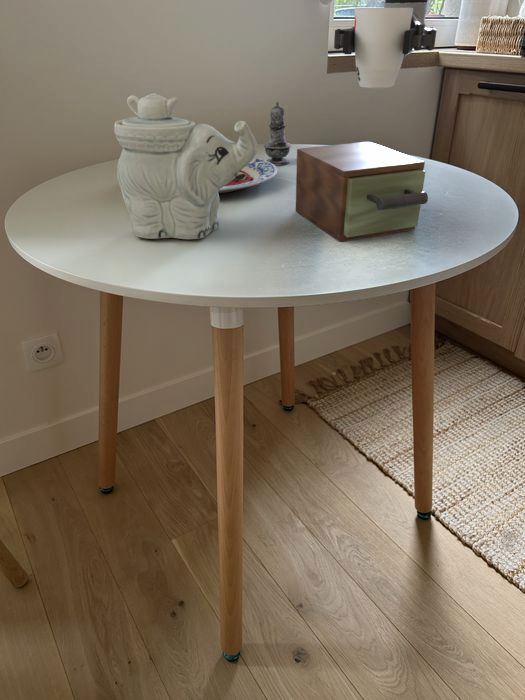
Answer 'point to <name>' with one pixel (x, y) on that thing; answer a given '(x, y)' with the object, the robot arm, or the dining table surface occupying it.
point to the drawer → (383, 202)
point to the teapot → (175, 169)
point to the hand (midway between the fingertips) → (375, 42)
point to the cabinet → (341, 180)
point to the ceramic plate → (251, 175)
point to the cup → (380, 44)
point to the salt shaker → (277, 138)
